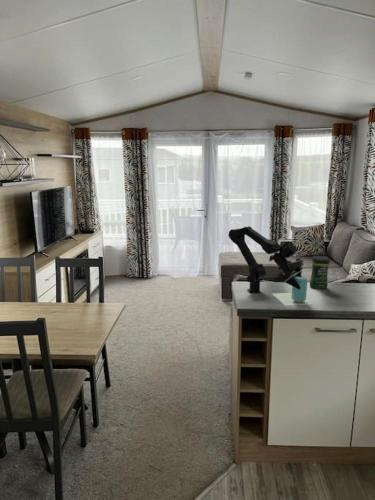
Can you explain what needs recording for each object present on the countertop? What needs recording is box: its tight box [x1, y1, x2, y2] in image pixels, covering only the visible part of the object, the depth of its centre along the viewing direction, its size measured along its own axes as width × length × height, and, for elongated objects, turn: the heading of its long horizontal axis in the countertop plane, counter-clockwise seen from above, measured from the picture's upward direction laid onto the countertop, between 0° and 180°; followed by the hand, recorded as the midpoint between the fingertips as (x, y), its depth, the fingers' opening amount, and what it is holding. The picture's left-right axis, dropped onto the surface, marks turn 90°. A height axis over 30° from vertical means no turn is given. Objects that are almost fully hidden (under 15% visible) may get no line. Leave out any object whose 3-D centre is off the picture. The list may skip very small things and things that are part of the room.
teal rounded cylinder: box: [291, 276, 308, 301], centre depth 193 cm, size 7×7×11 cm
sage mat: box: [272, 292, 312, 306], centre depth 199 cm, size 19×14×1 cm
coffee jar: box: [309, 255, 330, 290], centre depth 219 cm, size 10×8×19 cm
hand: (302, 287), depth 192 cm, fingers closed on teal rounded cylinder, 6 cm apart
